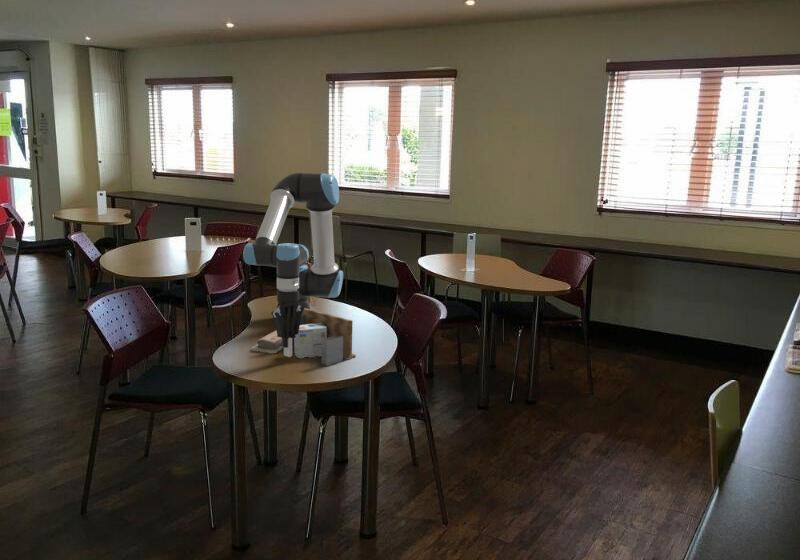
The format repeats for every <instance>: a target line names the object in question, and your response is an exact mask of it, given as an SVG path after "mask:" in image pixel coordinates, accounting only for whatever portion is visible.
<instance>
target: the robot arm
mask: <svg viewBox="0 0 800 560" xmlns="http://www.w3.org/2000/svg"><path fill="white" fill-rule="evenodd" d="M339 186H340V185H339V181H338V179H337V178H336V176H334V175H333V174H329V173H325V172H322V173H317V172H316V173H313V172H311V173H309V172H308V173H307V172H305V173H304V172H293V173H290V174H288V175H287V176H285V177H283V178H282V179H280V180H279V181H278V182H277V184H275V185H274V187H273V189H272V191H271V193H270V194H269V195H270V196H269V199H270V203H269V205H268V208H267V210H266V212H265V215H264V218H263V220H262V223H261V225H260V228H259V229H258V230H259V231H258V232H257V235H256V238H255V240H254V242H251V243H246V244H245V245H244V248H243V252H242V255H243V256H242V257H243V260H244V263H245V264H247V265H252V266H253V265H254V266H265V267H266V266H270V267H276V289H277V290H276V300H277V306H276V310H273V311H271V316H272V317H273V321H274V325H275V330H276V331H277V336H278V337H281V338H282V339H283V347H284V350H283V356H285V357H287V358H291V357H293V350H292V346H293V344H294V342H293V341H294V338H295V337H296V336H295V335H297V334H298V332H299V327H300V321H301V316H302V312H303V310H304V308H306V309H310V310H311V308H310V305H309V302H308V300H309V299H308V297H312V298H313V297H316V298H317V297H318V298H327V299H329V298H335V299H336V298H337V297H339V295H340V294H341V290H342V286H343V281H344V271H343V270H341V269H339V265H338V263H336V262H335V249H334V247H335V246H334V229H333V228H334V227H333V210H335V208H336V205H338V204H339V201H340V188H339ZM296 203H300V204H305V209H306V210H307V211H308V212H309V213H310V215H309V216H310V225H311V226H310V229H311V241H312V252H313V253H312V254H313V264H312V265H311V267H310V268H309V267H308V264H306V263H307V261H308V260H309V259H310V253H309V249H308V248H307V247H306V245H303V244H299V243H291V242H290V243H288V242H287V243H286V242H283V243H279V244H277V243H278V240H279V238H280V236H281V232H282V229H283V227H284V224H285V222H286V219H287V217H288V214H289V211H290V209H291V208H293V206H294V205H295V204H296Z"/></svg>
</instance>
